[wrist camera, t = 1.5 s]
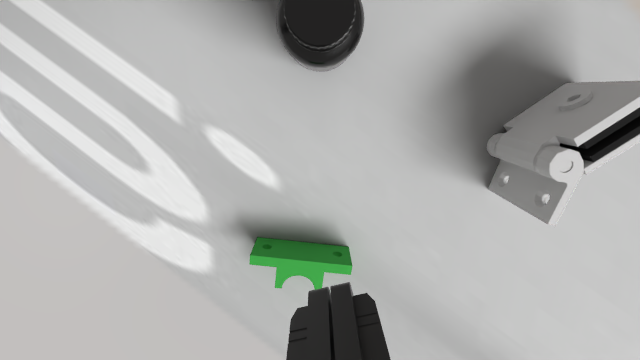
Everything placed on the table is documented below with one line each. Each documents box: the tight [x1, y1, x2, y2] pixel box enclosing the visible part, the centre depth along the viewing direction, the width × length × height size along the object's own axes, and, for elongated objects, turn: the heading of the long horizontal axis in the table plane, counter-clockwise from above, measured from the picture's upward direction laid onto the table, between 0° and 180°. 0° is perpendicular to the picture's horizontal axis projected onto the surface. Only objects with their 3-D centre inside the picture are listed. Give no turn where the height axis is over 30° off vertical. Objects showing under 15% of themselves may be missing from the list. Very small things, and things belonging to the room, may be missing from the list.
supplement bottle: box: [276, 0, 364, 72], centre depth 26 cm, size 7×7×12 cm
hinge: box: [486, 81, 640, 226], centre depth 30 cm, size 14×5×10 cm, turn 139°
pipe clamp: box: [250, 237, 352, 290], centre depth 37 cm, size 11×4×5 cm, turn 83°
